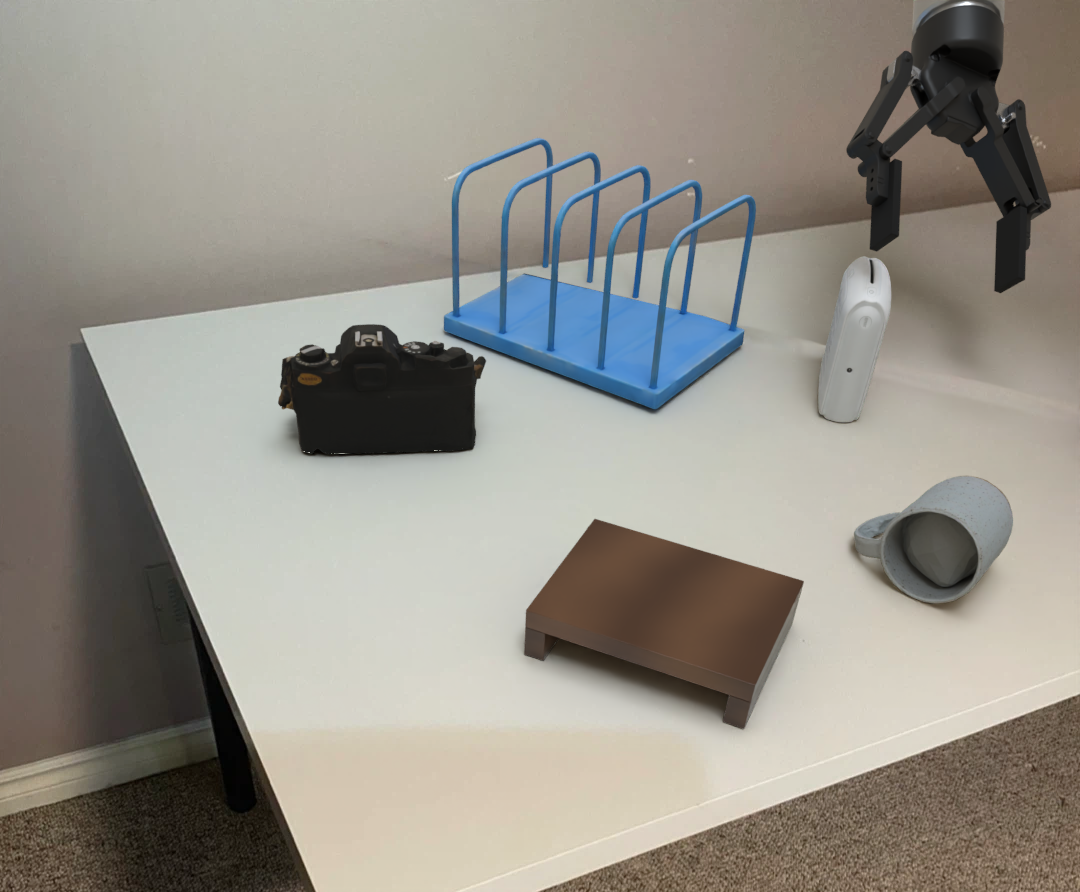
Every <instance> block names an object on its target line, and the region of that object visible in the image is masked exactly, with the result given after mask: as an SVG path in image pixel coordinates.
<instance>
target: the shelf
mask: <svg viewBox="0 0 1080 892" xmlns="http://www.w3.org/2000/svg"><path fill="white" fill-rule="evenodd" d="M804 584H805V581H804V580H802V579H799V578H795V577H792V576H789V575H786V574H782V573H778V572H775V571H772V570H769V569H765V568H761V567H759V566H755V565H752V564H748V563H745V562H743V561H742V562H741V561H739V560H735V559H732V558H728V557H725V556H721V555H718V554H715V553H712V552H708V551H704V550H702V549H698V548H695V547H691V546H688V545H685V544H681V543H678V542H674V541H671V540H668V539H664V538H662V537H658V536H655V535H651V534H648V533H644V532H642V531H638V530H634V529H632V528H628V527H625V526H621V525H618V524H614V523H611V522H608V521H604V520H600V519H599V518H594V519H593V520H592V521H591V523H590V524H589V526H587V528H586V530H585V531H584V532H583V534H582V535H581V536H580V537H579V539H578V540H577V542H576V543H574V546H572V548H571V550H570V551H569V552H568V553H567V555H566V556H565V557H564V559H563V560H562V562H561V563H560V564H559V565H558V566H557V568H556V570H555V571H554V572H553V574H551V576H550V577H549V579H548V580H547V582H546V583H545V584H544V585H543V587H542V588H541V590H540V591H539V592H538V594H536V596H535V597H534V599H533V600H532V601H531V602H530V604H529V605H528V607H527V608H526V609H525V625H524V649H523V654H524V655H526V656H528V657H531V658H534V659H536V660H540V661H543V662H544V660H545V659H546V658H547V656H548V655H549V654H550V652H551V651H552V649H553V648H554V646H555V645H556V644H557V642H558V640H559V639H560V640H564V641H567V642H569V643H572V644H576V645H579V646H582V647H585V648H587V649H590V650H594V651H597V652H598V653H599V652H600V653H603V654H606V655H607V656H608V655H609V656H612V657H614V658H618V659H621V660H623V661H627V662H629V663H632V664H635V665H639V666H641V667H643V668H644V667H645V668H648V669H651V670H653V671H657V672H659V673H663V674H666V675H668V676H672V677H674V678H677V679H679V680H680V679H681V680H683V681H687V682H688V683H689V682H690V683H692V684H696V685H698V686H702V687H704V688H707V689H710V690H713V691H716V692H719V693H722V694H725V695H728V697H727V701H726V704H725V705H726V706H725V709H724V715H723V718H722V723H724V724H728V725H730V726H733V727H736V728H740V729H742V730H744V729H746V726H747V724H748V722H749V720H750V718H751V715H752V713H753V711H754V708H755V707H756V705H757V702H758V700H759V698H760V697H761V696H760V695H761V694H762V691H763V689H764V687H765V685H766V683H767V681H768V678H769V676H770V673H771V672H772V669H773V667H774V665H775V663H776V661H777V658H778V657H779V654H780V652H781V650H782V647H783V645H784V643H785V641H786V639H787V637H788V635H789V632H790V630H791V628H792V626H793V623H794V620H795V615H796V613H797V609H798V605H799V601H800V598H801V595H802V591H803V587H804Z"/></svg>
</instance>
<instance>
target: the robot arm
mask: <svg viewBox="0 0 1080 892" xmlns="http://www.w3.org/2000/svg"><path fill="white" fill-rule="evenodd" d="M912 3H913V4H912V5H913V6H912V23H911V24H912V25H911V35H912V40H911V46H910V51H909V50H903V51H902V52H901V53H900V54H899V55H898V56H897V57H895V59H894V60H893V61H891V62H890V64H888V65H886V67H885V68H884V69H883V70H882V73H881V78H880V79H881V80H880V86H879V90H878V92H877V94H876V96H875V97H874V99H873V101H872V103H871V104H870V106H869V108H868V110H867V111H866V113H865V115H864V116H863V118H862V120H861V121H860V123H859V126H858V127H857V129H856V130H855V132H854V134H853V136H852V137H851V139H850V141H849V143H848V144H847V146H846V149H845V150H846V155H847V156H848V157H849V158H850V159H853V160H854V159H855V160H856V159H857V158H858V159H859V160H860V161H861V162H860V163H859V164H858V165H857V172H858V175H860V177H862V178H866V181H865V183H866V184H865V186H866V187H865V200H866V204H867V205H870V206H871V210H870V213H871V214H870V231H869V232H870V233H869V234H870V235H869V250H871V251H872V252H873V251H874V252H879V251H880V250H881V249H883V248H884V247H886V246H887V245H889V244H890V243H891V242H893V241H894V240H895V239H897V238H899V237H900V224H901V223H900V222H901V199H902V198H901V197H902V178H903V177H902V175H903V161H902V160H900V159H898V158H894V159H892V160H891V158H892V157H894V156H895V154H896V153H898V151H900V150H901V149H902V148H903V147H904V146H905V145H906V144H907V143H908V142H910V140H911V139H912V138H914V136H915V135H917V134H918V133H919V132H920V131H921V130H922V129H923V128H924V127H925V126H926V127H927V128H928V129H929V130H930V135H932V136H935V137H938V138H945V139H947V140H948V141H949V142H950V143H953V144H955V145H958V146H960V148H961V150H962V152H963V153H964V155H965V156H966V157H967V158H972V160H973V162H974V163H975V165H976V167H977V169H978V171H979V174H980V175H981V177H982V179H983V181H984V182H985V185H986V186H987V188H988V190H989V192H990V194H991V196H992V198H993V200H994V202H995V204H996V206H997V208H998V209H999V211H1000V214H1001V215H1002V217H1001V218H999V219H998V220H997V221H996V226H995V256H994V257H995V258H994V289H993V292H996V293H999V294H1002V293H1004V292H1006V291H1007V290H1009V289H1011V288H1013V287H1015V286H1016V285H1019V284H1020V283H1022V282H1023V281H1026V265H1027V263H1026V262H1027V251H1028V250H1029V249H1030V246H1031V232H1032V231H1031V229H1032V221H1033V220H1034V219H1036V218H1037V217H1039V216H1040V215H1042V214H1045V212H1047V211H1048V210H1050V209H1051V208H1052V202H1051V198H1050V195H1049V191H1048V188H1047V185H1046V182H1045V179H1044V176H1043V173H1042V170H1041V167H1040V164H1039V163H1040V162H1039V160H1038V158H1037V153H1036V151H1035V148H1034V144H1033V141H1032V139H1031V135H1030V132H1029V129H1028V126H1027V111H1026V110H1027V109H1026V108H1027V107H1026V104H1025V102H1024V101H1023V100H1022V99H1020V98H1018V99H1016V100H1015V101H1013V102H1012V103H1010V104H1007V103H1004V102H1000V101H999V97H998V95H997V91H996V83H997V80H998V78H999V75H1000V73H1001V71H1002V67H1003V64H1004V43H1005V41H1004V40H1005V39H1004V38H1005V25H1004V23H1005V16H1006V15H1005V13H1006V0H913V2H912ZM908 88H909V89H910V94H911V96H912V97H913V100H914V102H915V104H916V106H917V110H916V111H915V112H914V113H913V114H912V115H910V117H908V118H907V119H906V120H905V121H904V122H903V123H902V124H901V125H900V126H899V127H898V128H897V129H896V130H895V131H894V132H893V133H892V134H891V135H890V136H888V137H887V138H886V139H885V140H884V141H883V142H881V141H880V140H878V139H879V137H880V135H881V133H882V132H883V130H884V129H885V126H886V125H887V123H888V121H889V119H890V117H891V116H892V114H893V112H894V110H895V109H896V107H897V105H898V103H899V102H900V100H901V98H902V96H903V94H904V93H905V91H906V90H907V89H908ZM984 128H985V129H986V134H985V135H984V136H982V138H980V139H979V140H977V141H976V140H975V139H974V137H976V136H977V135H978V134H979V133H981V132H982V130H983V129H984ZM1014 204H1015V205H1014Z"/></svg>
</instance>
